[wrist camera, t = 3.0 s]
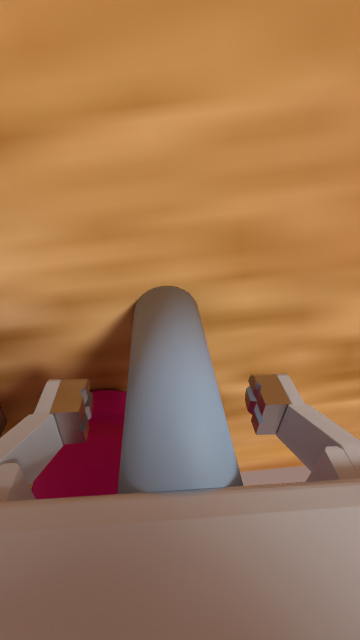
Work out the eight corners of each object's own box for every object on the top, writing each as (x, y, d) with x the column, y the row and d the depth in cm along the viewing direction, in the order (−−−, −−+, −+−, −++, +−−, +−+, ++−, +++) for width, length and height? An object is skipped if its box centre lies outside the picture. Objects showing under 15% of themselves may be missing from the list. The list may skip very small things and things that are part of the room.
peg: (132, 285, 15) (109, 488, 6) (201, 286, 15) (260, 479, 7) (135, 340, 17) (120, 546, 9) (195, 339, 17) (236, 537, 9)
